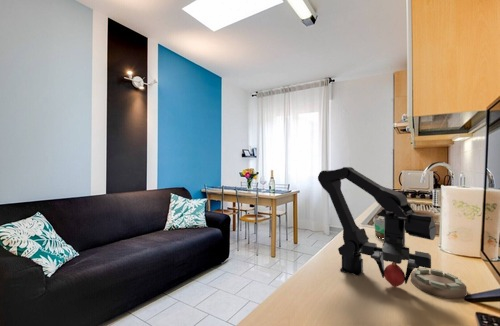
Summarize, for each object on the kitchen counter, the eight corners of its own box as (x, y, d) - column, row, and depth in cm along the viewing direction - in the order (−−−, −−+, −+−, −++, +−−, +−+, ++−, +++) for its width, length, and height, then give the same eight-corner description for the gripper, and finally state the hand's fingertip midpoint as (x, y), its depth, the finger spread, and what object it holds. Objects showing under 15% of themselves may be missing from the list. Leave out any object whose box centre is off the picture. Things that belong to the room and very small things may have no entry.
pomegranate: (385, 280, 79) (385, 256, 79) (406, 285, 75) (406, 261, 75) (382, 287, 74) (382, 262, 75) (403, 293, 71) (403, 267, 71)
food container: (367, 234, 130) (367, 216, 130) (376, 233, 131) (376, 216, 131) (386, 242, 118) (386, 222, 118) (396, 240, 120) (396, 221, 120)
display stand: (409, 288, 74) (409, 278, 74) (411, 272, 85) (411, 263, 85) (469, 304, 66) (469, 293, 66) (463, 284, 77) (463, 274, 77)
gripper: (357, 232, 74) (357, 281, 74) (431, 245, 63) (431, 302, 63) (364, 225, 83) (364, 268, 83) (430, 234, 72) (430, 285, 72)
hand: (394, 280), depth 75 cm, fingers closed on pomegranate, 6 cm apart
